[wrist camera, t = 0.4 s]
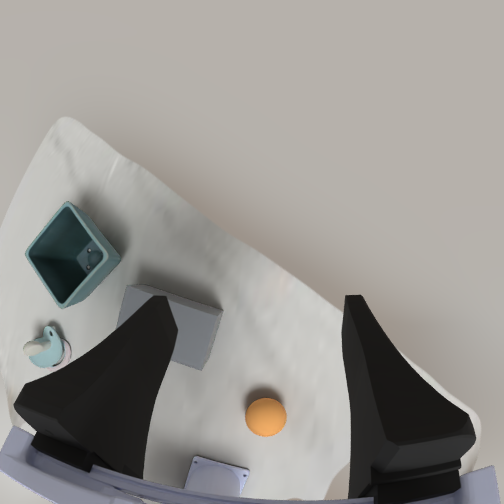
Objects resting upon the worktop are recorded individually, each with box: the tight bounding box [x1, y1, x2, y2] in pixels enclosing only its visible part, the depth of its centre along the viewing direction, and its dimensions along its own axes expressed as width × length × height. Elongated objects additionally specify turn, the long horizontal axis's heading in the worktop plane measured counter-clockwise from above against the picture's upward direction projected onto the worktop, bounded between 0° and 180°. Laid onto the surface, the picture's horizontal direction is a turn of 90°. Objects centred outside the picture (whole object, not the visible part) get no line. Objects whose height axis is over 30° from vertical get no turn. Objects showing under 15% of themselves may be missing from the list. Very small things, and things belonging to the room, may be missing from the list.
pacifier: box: [23, 326, 71, 372], centre depth 36 cm, size 7×6×6 cm
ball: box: [245, 398, 287, 437], centre depth 35 cm, size 5×5×5 cm
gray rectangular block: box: [116, 285, 223, 370], centre depth 36 cm, size 6×10×6 cm, turn 73°
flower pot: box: [25, 201, 121, 309], centre depth 35 cm, size 9×9×9 cm
